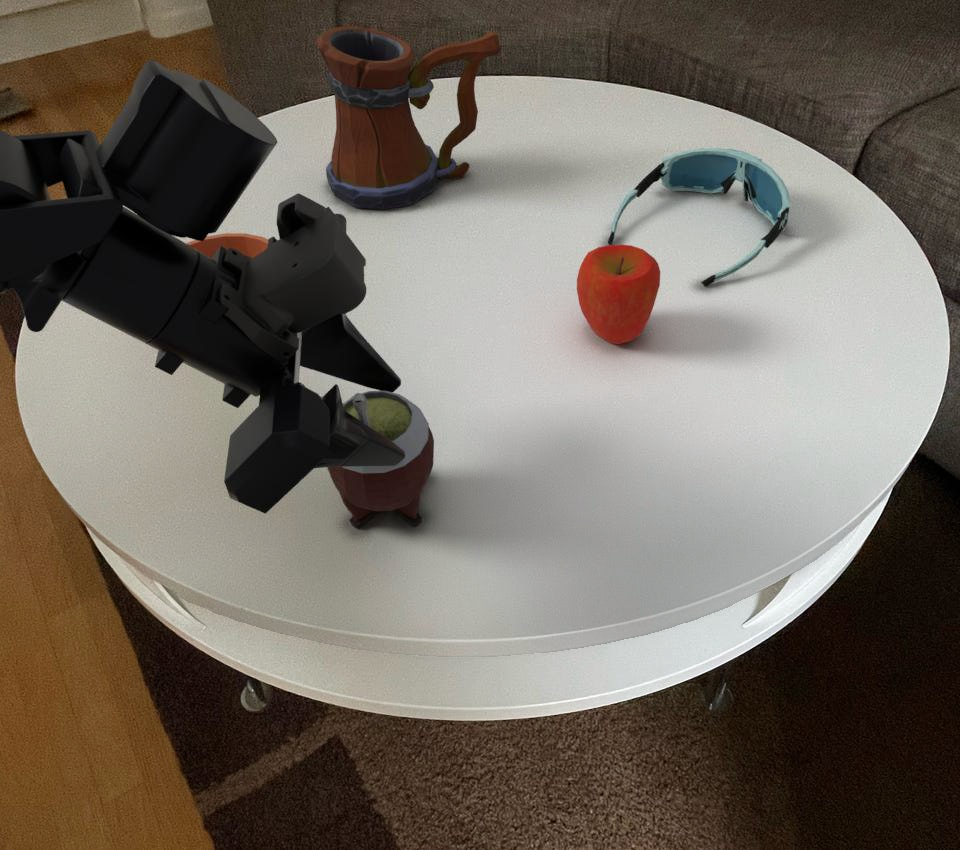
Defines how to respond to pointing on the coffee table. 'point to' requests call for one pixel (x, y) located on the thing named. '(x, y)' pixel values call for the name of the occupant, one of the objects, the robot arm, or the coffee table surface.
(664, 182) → the sunglasses
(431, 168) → the mug
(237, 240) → the holder
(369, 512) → the mate gourd
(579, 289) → the apple
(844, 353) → the coffee table surface
